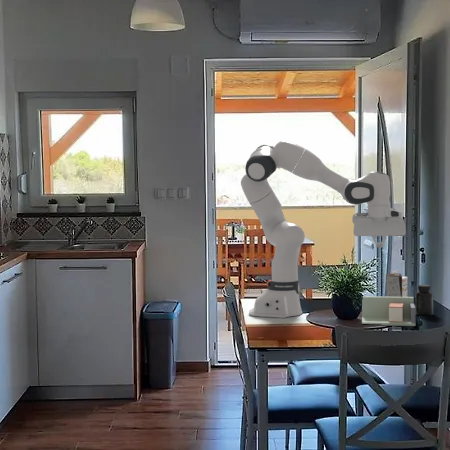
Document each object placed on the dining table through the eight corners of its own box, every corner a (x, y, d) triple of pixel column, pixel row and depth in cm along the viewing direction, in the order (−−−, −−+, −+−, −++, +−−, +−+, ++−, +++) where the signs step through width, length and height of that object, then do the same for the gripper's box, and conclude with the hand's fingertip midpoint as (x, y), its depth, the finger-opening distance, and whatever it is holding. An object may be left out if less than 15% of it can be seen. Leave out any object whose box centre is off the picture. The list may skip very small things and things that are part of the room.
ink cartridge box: (400, 305, 299) (400, 272, 298) (390, 304, 302) (389, 271, 301) (408, 302, 306) (407, 269, 305) (397, 301, 309) (397, 269, 308)
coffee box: (402, 315, 279) (402, 276, 278) (386, 315, 280) (386, 276, 279) (401, 310, 288) (401, 273, 287) (385, 310, 289) (385, 273, 288)
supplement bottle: (426, 312, 284) (426, 283, 283) (436, 315, 278) (436, 286, 277) (412, 313, 282) (412, 284, 281) (422, 316, 275) (422, 287, 274)
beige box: (388, 322, 263) (388, 306, 262) (390, 317, 270) (390, 302, 270) (402, 322, 261) (402, 307, 261) (403, 318, 269) (403, 303, 268)
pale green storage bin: (362, 324, 263) (361, 301, 263) (362, 318, 275) (362, 296, 274) (415, 325, 259) (415, 302, 259) (413, 319, 271) (413, 296, 270)
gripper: (352, 213, 268) (352, 248, 269) (405, 212, 263) (406, 248, 264) (352, 212, 274) (352, 246, 275) (404, 211, 270) (405, 246, 271)
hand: (379, 247), depth 270 cm, fingers closed
